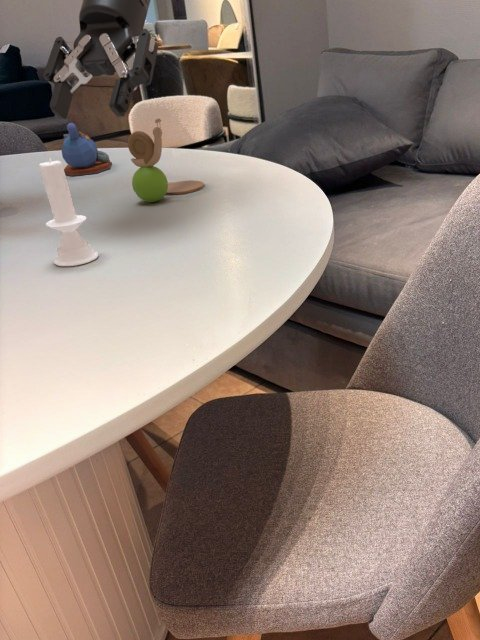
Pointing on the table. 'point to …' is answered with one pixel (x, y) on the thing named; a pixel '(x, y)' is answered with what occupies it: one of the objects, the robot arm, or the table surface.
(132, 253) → the table surface
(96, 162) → the model
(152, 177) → the snail figurine
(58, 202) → the candle
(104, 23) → the robot arm
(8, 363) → the table surface
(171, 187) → the coaster
